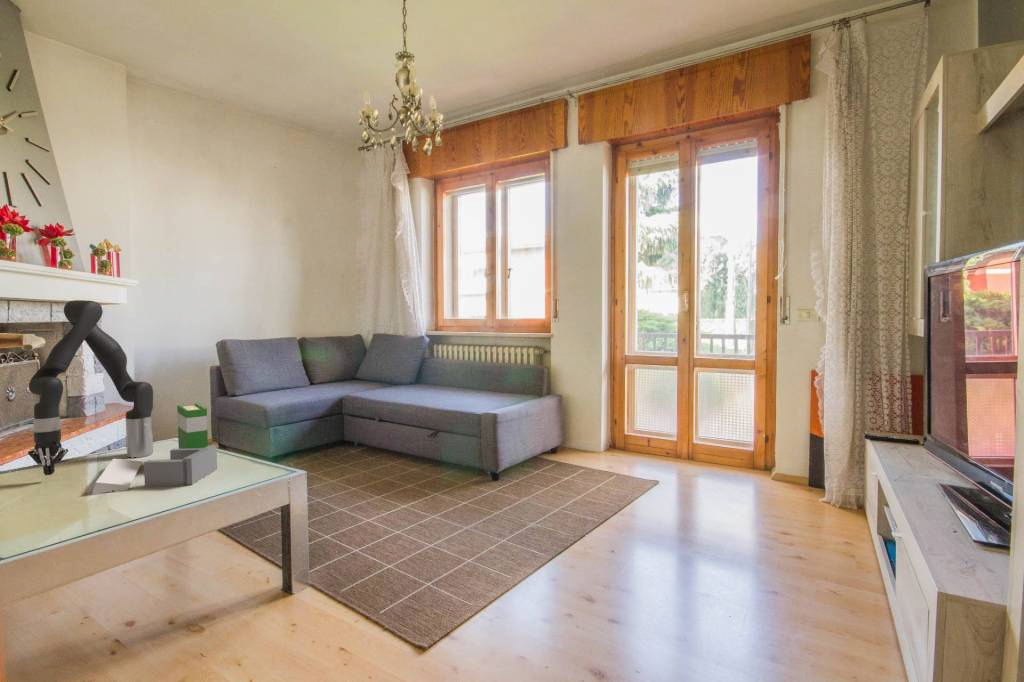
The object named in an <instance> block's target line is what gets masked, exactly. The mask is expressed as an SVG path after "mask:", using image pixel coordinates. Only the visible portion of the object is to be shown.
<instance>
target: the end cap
mask: <svg viewBox="0 0 1024 682" xmlns="http://www.w3.org/2000/svg"><path fill="white" fill-rule="evenodd" d="M217 450H218V449H217V445H215V444H214V445H213V444H212V445H208V446H207V447H205V448H187V449H179V448H172V449H170V450H169V455H170V456H169V457H170V459H158V460H157V459H156V460H155V459H152V460H150V459H149V460H146V461H144V462H143V466H144V467H143V468H144V469H143V471H144V472H143V473H144V487H169V486H170V487H171V486H175V485H177V486H192V485H191V484H193V485H194V483H195V482H196V483H198V482H199V481H198V480H200V479H201V478H203V477H204V478H206V477H207V476H206V475H208V474H209V475H211V474H212V473H214V472H215V471H214V470H216V469H217V470H218V456H217V455H218V453H217V452H218V451H217ZM217 470H216V471H217ZM213 471H214V472H213ZM211 472H212V473H211ZM210 473H211V474H210ZM209 475H208V476H209ZM205 476H206V477H205ZM204 478H203V479H204ZM201 480H202V479H201ZM201 480H200V481H201ZM197 481H198V482H197ZM196 483H195V484H196ZM175 487H176V486H175Z"/></svg>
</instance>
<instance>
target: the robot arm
mask: <svg viewBox="0 0 1024 682" xmlns="http://www.w3.org/2000/svg"><path fill="white" fill-rule="evenodd" d="M103 311H104V310H103V308H102V306H101V304H100V303H98V302H97V301H93V300H84V299H83V300H82V299H81V300H80V299H79V300H78V299H77V300H71V301H68V302H67V303H65V305H64V307H63V313H64V316H65V318H66V320H68V322H69V323H70V325H72V328H71V329H70V330H69V331H68V333H66V335H64V337H61V339H60V340H59V341H58V342H57V343H56V344H54V346H53V347H52V349H51V350H50V352H49V354H48V356H47V358H46V360H45V362H44V363H43V365H42V366H41V367H40V368H39V369H38V370H37V371H36V372H35V374H33V376H32V377H31V379H30V380H29V382H28V383H29V384H28V390H29V391H30V393H32V394H34V395H35V396H40V399H39V402H37V403H35V404H34V406H33V407H34V408H33V415H34V416H33V443H35V445H34V447H33V449H32V450H29V451H28V452H27V454H28V456H30V458H31V459H32V460H33V461H34V462H35V463H36V464H37V465H42V469H43V471H42V472H43V474H44V476H52V475H53V474H54V473H55V471H56V470H55V464H57V463H60V462H61V461H62V460H63V458H64V457H65V456H66V454H67V453H68V452H69V449H68V448H66V449H65V448H63V447H62V443H61V440H62V425H61V419H60V418H61V417H60V404H61V401H62V397H63V393H64V385H63V381H62V380H61V379H60V378H59V377H58V376H59V375H60V374H63V373H66V372H67V371H68V369H69V366H70V365H71V364H72V362H73V359H74V357H75V356H76V354H77V352H78V350H79V348H80V347H81V345H82V344H83V343H84V341H85V343H86V345H87V346H88V347H89V349H90V350H91V351H92V353H93V355H94V356H95V358H96V359H97V360H98V363H99V364H100V365H101V366H102V367H103V369H104V370H105V372H106V374H107V375H108V376H109V378H110V379H111V381H112V383H113V385H114V386H115V389H116V391H117V393H118V395H119V396H120V398H121V399H122V400H123V401H125V402H127V403H133V406H132V409H129V410H127V411H126V412H125V436H126V439H125V440H126V457H127V458H129V457H131V458H133V459H134V457H136V458H143V457H147V456H150V455H152V454H153V453H154V441H153V439H154V438H153V437H154V436H153V431H152V412H153V408H154V389H153V386H152V385H151V383H150V382H146V381H135V380H134V379H133V378H132V377H131V376H130V374H129V372H128V371H127V370H128V369H127V364H128V358H127V354H126V352H125V351H124V350H123V348H122V346H121V345H120V344H119V342H118V341H116V339H115V338H113V337H112V336H111V335H109V334H108V333H106V332H105V331H104V330H103V329H101V328H100V327H99V325H98V323H99V321H100V320H101V318H102V316H103Z"/></svg>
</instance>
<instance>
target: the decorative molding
mask: <svg viewBox="0 0 1024 682" xmlns="http://www.w3.org/2000/svg"><path fill="white" fill-rule="evenodd" d="M142 464H143V461H140V460H132V459H131V460H130V459H124V458H123V459H121V458H112V459H111V461H110V463H109V464H108V465H107V466H106V468H104V470H103V472H102V473H101V475H100V476H99V477H98V478H97V479H96V481H95V483H94V486H93V490H92V493H91V494H92V496H94V495H100V494H105V493H112V492H114V493H115V492H122V491H128V490H129V488H130V486H131V484H132V482H133V481H134V478H135V477H136V475H137V473H138V471H139V469H140V467H141V466H142Z"/></svg>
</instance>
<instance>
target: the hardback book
mask: <svg viewBox="0 0 1024 682" xmlns="http://www.w3.org/2000/svg"><path fill="white" fill-rule="evenodd" d="M176 408H177V410H176V411H177V436H178V439H177V440H178V449H187V448H205V447H207V446H209V443H208V442H209V441H208V439H209V438H208V437H209V436H208V409H207V408H206V407H204V406H203V405H200V404H199V403H194V404H193V405H186V406H182V405H181V404H178V405H177V407H176Z"/></svg>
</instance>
